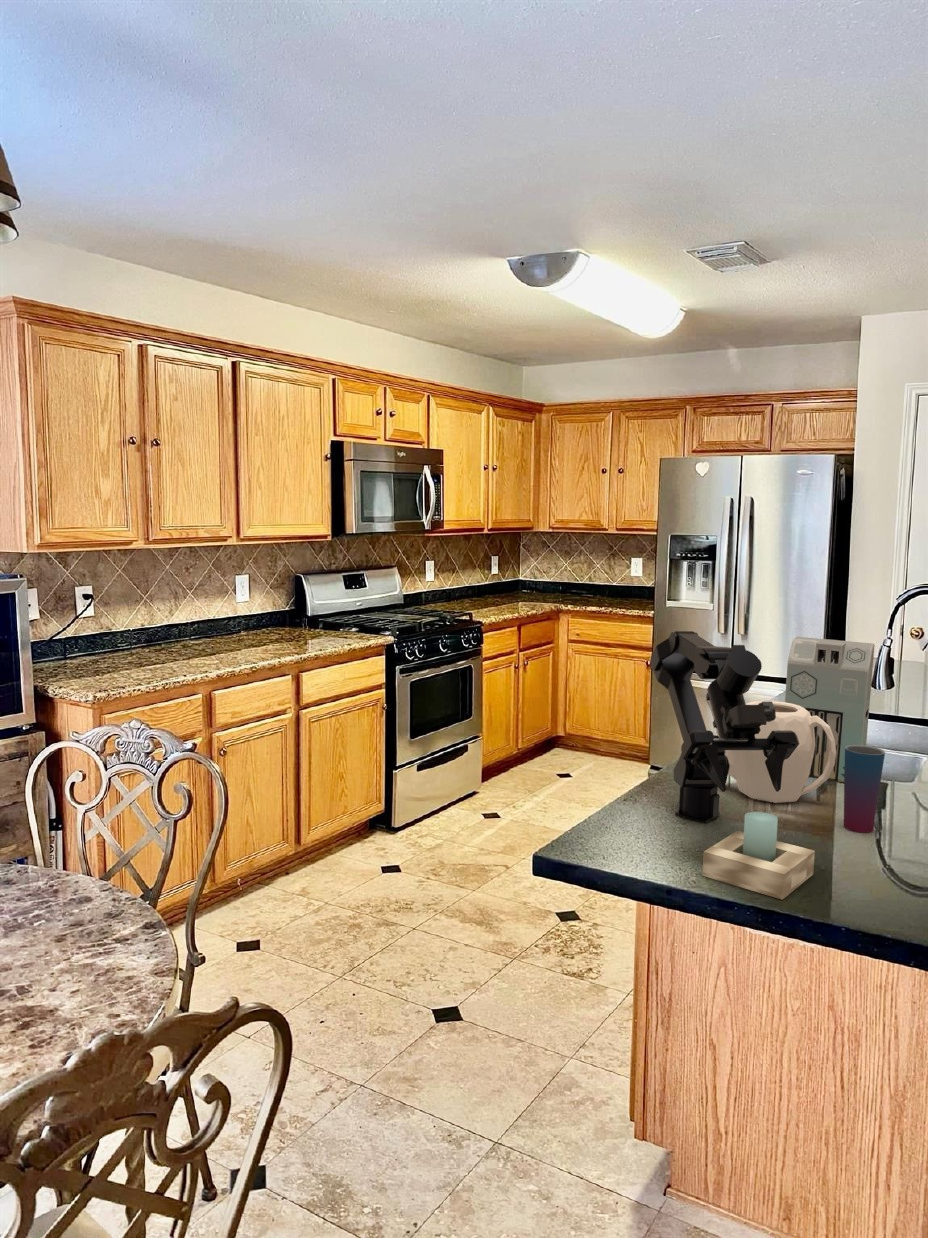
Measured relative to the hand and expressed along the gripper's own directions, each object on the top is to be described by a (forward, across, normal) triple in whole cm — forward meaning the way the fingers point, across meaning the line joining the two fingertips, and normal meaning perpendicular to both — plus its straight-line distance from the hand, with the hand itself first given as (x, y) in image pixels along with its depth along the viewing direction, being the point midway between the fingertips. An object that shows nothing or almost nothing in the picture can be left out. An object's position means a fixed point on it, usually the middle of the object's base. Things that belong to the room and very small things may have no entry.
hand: (751, 790), depth 149 cm
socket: (+12, 0, +6) cm, 13 cm away
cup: (-2, +28, +20) cm, 35 cm away
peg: (+12, 0, +5) cm, 13 cm away
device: (-26, +38, +44) cm, 63 cm away
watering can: (-16, +19, +34) cm, 42 cm away
